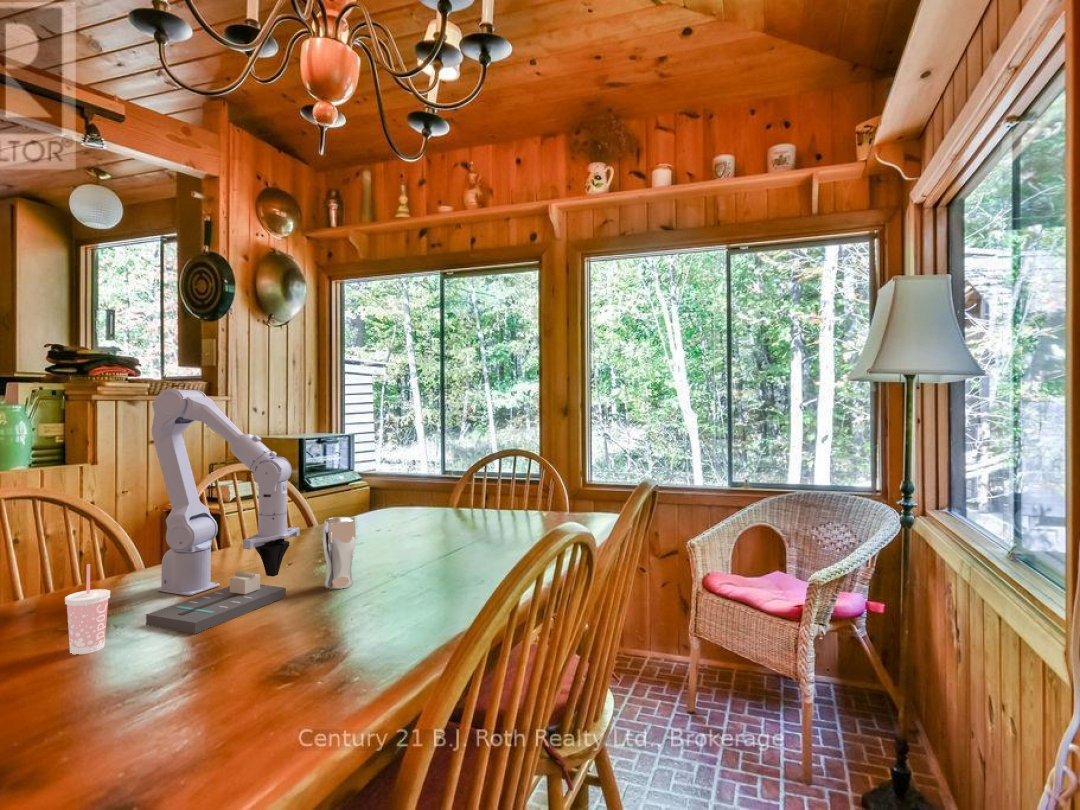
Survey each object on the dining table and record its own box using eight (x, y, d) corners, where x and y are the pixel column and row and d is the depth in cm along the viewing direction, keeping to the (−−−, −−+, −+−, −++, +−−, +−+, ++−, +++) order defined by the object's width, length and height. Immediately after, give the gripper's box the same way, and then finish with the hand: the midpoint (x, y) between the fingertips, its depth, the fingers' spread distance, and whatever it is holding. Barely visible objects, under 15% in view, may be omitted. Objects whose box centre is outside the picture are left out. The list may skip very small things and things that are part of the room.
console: (146, 625, 110) (146, 613, 110) (241, 590, 131) (241, 581, 131) (195, 634, 106) (195, 622, 106) (285, 597, 127) (285, 587, 127)
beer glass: (345, 591, 132) (345, 522, 132) (316, 588, 133) (317, 521, 133) (360, 582, 138) (361, 517, 138) (333, 580, 140) (334, 515, 140)
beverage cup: (80, 658, 95) (81, 571, 95) (54, 653, 98) (56, 567, 98) (118, 644, 101) (119, 561, 101) (94, 639, 103) (95, 558, 103)
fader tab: (229, 592, 123) (229, 574, 123) (244, 586, 127) (244, 569, 127) (245, 594, 122) (245, 576, 122) (260, 588, 125) (261, 571, 125)
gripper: (261, 520, 123) (261, 586, 123) (310, 509, 137) (309, 568, 137) (235, 517, 125) (234, 582, 125) (285, 507, 139) (285, 565, 139)
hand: (272, 575), depth 131 cm, fingers closed
